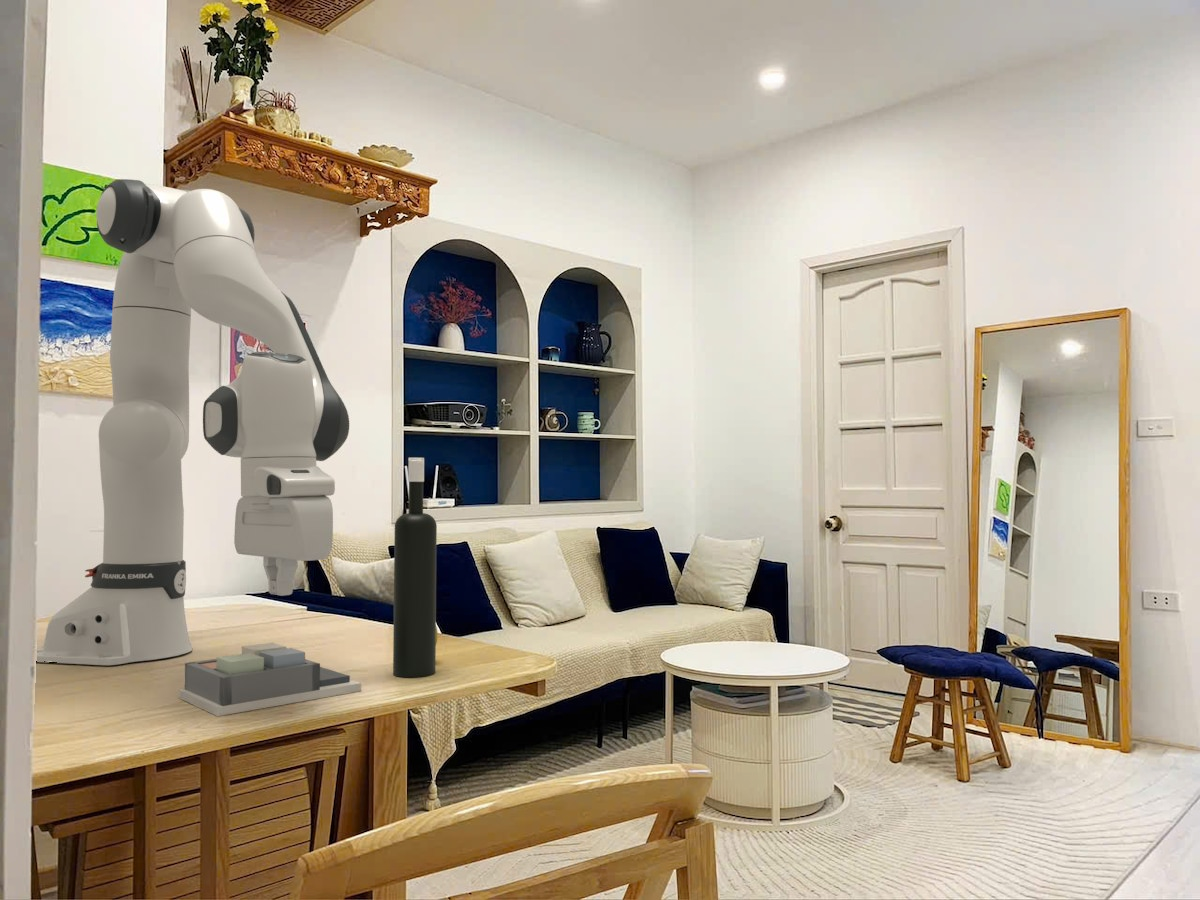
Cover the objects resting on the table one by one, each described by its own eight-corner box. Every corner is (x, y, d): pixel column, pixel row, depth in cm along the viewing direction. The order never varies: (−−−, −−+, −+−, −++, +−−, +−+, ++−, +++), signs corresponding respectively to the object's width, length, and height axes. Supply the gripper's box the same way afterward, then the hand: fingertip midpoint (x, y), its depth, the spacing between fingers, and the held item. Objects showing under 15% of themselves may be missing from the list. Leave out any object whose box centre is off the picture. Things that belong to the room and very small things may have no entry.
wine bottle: (433, 668, 129) (435, 458, 130) (437, 676, 123) (439, 457, 124) (392, 670, 127) (394, 458, 128) (394, 678, 121) (396, 456, 123)
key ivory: (254, 668, 111) (255, 650, 112) (241, 663, 114) (241, 646, 114) (285, 664, 114) (286, 646, 114) (272, 659, 117) (272, 642, 117)
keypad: (217, 716, 102) (218, 678, 102) (179, 698, 110) (179, 663, 110) (361, 690, 114) (361, 657, 114) (316, 676, 123) (316, 645, 123)
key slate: (273, 674, 108) (273, 656, 108) (259, 669, 111) (259, 651, 111) (304, 670, 110) (305, 652, 111) (290, 665, 113) (290, 647, 113)
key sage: (229, 681, 104) (230, 662, 104) (216, 676, 107) (216, 657, 107) (263, 676, 107) (263, 657, 107) (249, 671, 110) (249, 653, 110)
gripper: (220, 483, 116) (221, 591, 116) (290, 481, 101) (292, 604, 101) (268, 482, 121) (269, 586, 120) (342, 480, 106) (344, 598, 105)
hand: (280, 594), depth 110 cm, fingers closed
